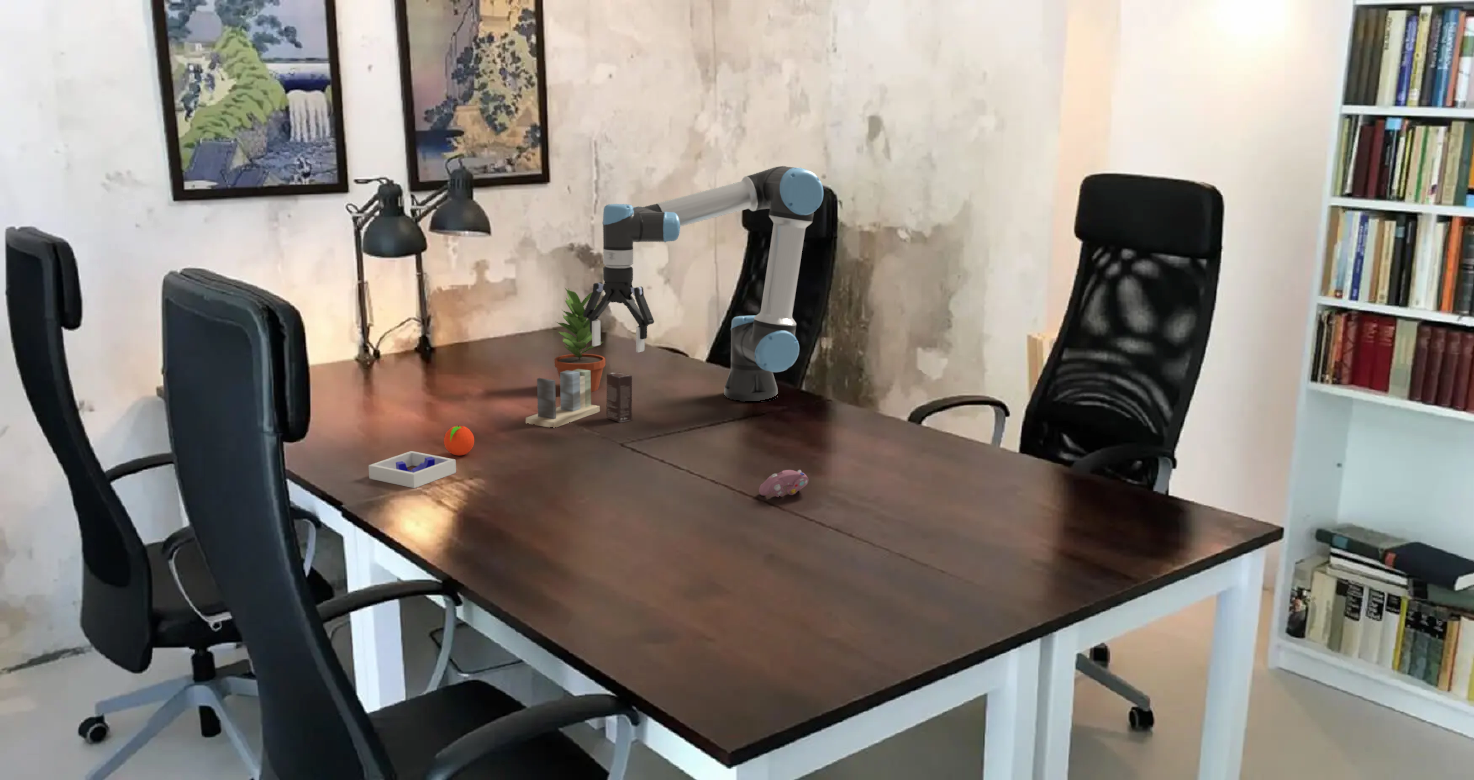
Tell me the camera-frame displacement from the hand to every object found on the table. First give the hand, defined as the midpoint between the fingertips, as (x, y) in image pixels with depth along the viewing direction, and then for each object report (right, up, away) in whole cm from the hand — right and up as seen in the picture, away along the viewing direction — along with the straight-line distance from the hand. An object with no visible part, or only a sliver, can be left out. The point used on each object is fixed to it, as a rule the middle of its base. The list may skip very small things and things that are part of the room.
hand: (618, 348), depth 308 cm
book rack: (-15, -18, +6) cm, 24 cm away
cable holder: (-40, -30, -46) cm, 68 cm away
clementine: (-34, -26, -30) cm, 52 cm away
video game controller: (+40, -33, -55) cm, 76 cm away
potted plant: (-15, -10, +38) cm, 42 cm away
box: (0, -18, +4) cm, 19 cm away
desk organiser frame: (-40, -29, -45) cm, 67 cm away
